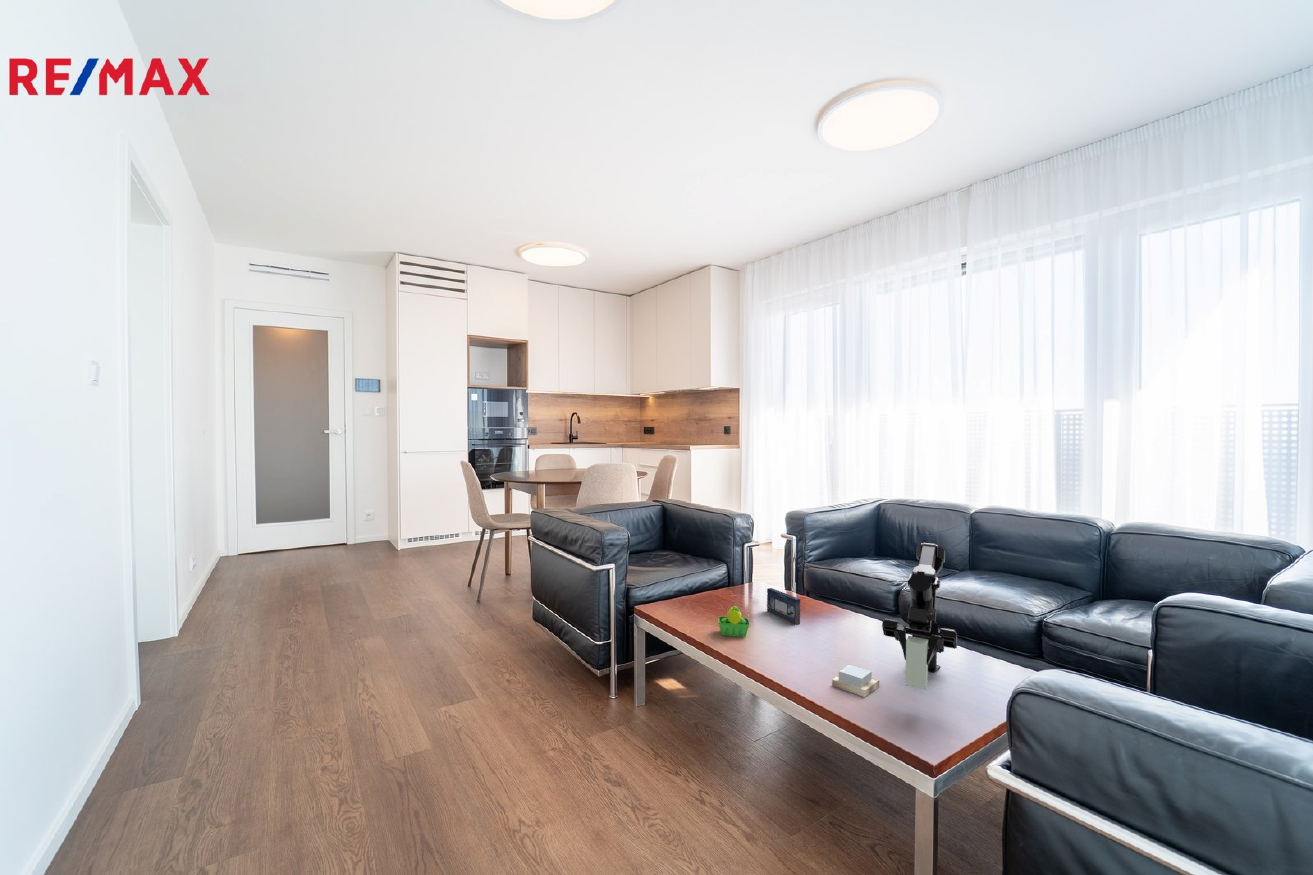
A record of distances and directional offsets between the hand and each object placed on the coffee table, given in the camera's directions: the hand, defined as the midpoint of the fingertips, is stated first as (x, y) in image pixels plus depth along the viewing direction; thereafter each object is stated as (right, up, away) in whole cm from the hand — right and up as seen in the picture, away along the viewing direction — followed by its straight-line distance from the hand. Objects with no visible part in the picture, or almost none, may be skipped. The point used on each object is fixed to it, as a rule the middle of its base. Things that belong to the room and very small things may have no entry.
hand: (916, 661), depth 150 cm
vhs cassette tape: (-19, -13, +77) cm, 80 cm away
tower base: (-11, -14, +15) cm, 23 cm away
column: (+1, -7, +1) cm, 7 cm away
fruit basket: (-42, -13, +57) cm, 71 cm away
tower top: (-11, -11, +15) cm, 22 cm away
